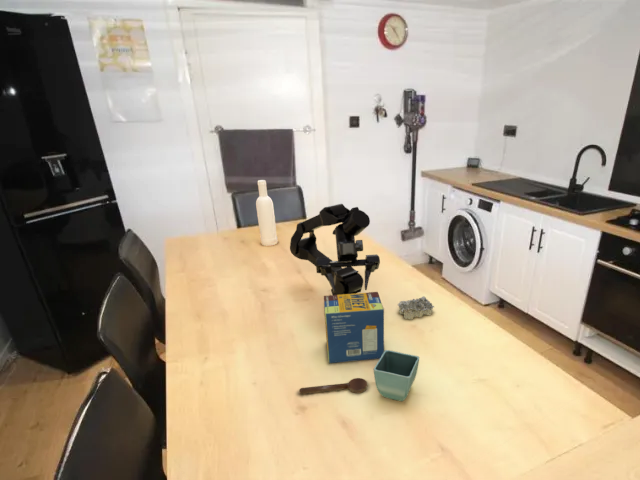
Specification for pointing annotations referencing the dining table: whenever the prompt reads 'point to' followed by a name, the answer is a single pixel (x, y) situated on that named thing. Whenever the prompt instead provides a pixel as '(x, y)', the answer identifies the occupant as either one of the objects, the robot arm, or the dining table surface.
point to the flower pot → (395, 374)
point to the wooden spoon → (339, 387)
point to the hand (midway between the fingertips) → (350, 290)
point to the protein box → (354, 327)
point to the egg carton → (415, 308)
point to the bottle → (266, 216)
